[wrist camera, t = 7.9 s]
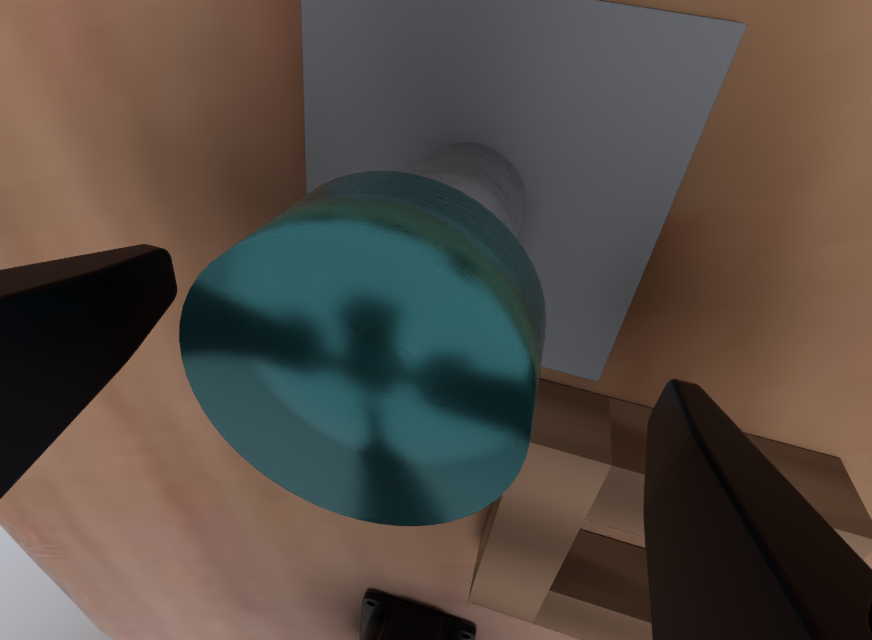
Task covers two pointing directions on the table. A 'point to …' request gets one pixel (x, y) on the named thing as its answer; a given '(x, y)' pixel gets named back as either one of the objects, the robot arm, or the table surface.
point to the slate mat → (528, 125)
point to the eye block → (607, 517)
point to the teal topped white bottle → (379, 341)
